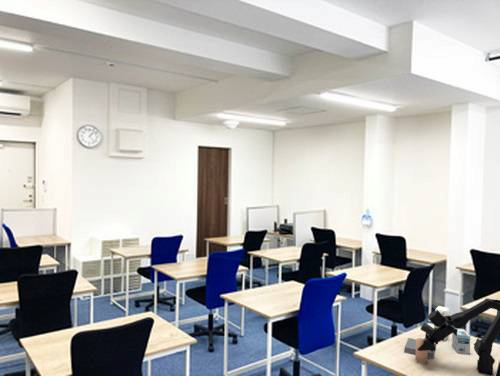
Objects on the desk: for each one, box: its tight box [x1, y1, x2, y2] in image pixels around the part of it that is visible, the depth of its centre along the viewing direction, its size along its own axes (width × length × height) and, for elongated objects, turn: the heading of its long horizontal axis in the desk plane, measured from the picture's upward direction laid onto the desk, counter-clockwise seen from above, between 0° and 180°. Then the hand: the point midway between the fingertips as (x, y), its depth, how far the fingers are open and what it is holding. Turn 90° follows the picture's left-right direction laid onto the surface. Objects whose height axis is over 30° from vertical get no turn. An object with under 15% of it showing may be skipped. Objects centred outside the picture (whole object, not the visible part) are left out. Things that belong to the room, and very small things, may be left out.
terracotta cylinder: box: [414, 338, 428, 364], centre depth 210 cm, size 6×6×11 cm
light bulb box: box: [451, 327, 471, 355], centre depth 224 cm, size 11×7×11 cm, turn 168°
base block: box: [404, 337, 437, 360], centre depth 222 cm, size 15×15×3 cm
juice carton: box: [433, 305, 451, 342], centre depth 240 cm, size 8×9×19 cm
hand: (418, 347), depth 210 cm, fingers closed on terracotta cylinder, 6 cm apart
